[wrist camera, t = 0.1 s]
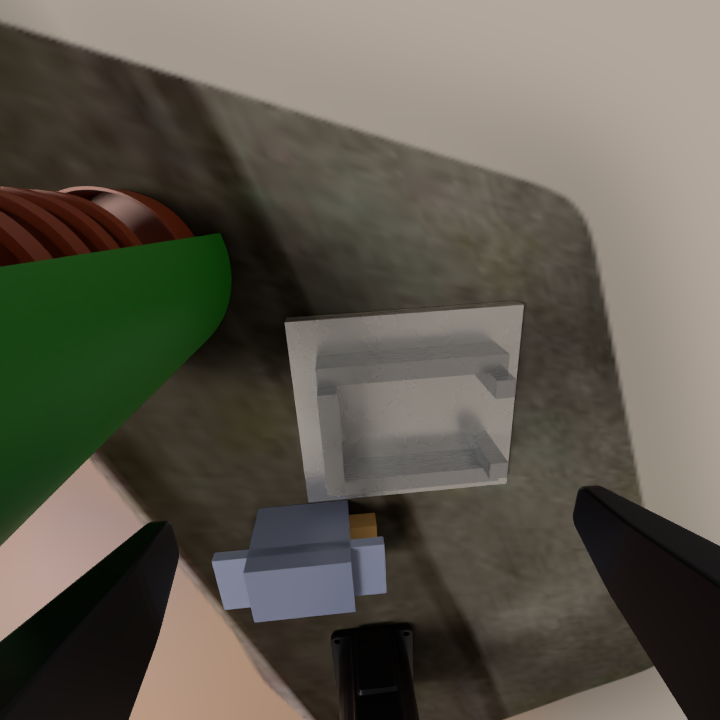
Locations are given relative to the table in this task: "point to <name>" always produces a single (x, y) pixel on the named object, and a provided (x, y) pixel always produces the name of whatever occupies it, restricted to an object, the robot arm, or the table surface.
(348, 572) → the block
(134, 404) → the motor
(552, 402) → the table surface
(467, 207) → the table surface
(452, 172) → the table surface
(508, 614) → the table surface
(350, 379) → the chassis
